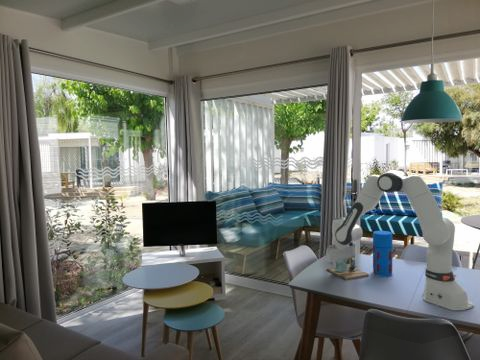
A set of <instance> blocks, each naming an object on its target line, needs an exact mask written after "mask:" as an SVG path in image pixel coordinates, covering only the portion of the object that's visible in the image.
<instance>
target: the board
mask: <svg viewBox="0 0 480 360" xmlns="http://www.w3.org/2000/svg"><path fill="white" fill-rule="evenodd" d="M349 267H350V264H347V271H343V272H339V271H336V270H333V266H331V267H326V271H327V272H330V273H331V274H334V275H335V276H338V277H339V278H341V279H343V280H345V281H347V280H355V279H359V278H365V277H369V276H370V274H369V273H367V272H365V271H363V270H360V269H358V268H356V269H357V271H349V270H348V269H349Z"/></svg>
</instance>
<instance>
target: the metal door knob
mask: <svg viewBox="0 0 480 360" xmlns="http://www.w3.org/2000/svg"><path fill="white" fill-rule="evenodd" d="M349 265H350V267H349V269H348V270H349V271H357V269H358V268H357V266H356V259H354V258H350V263H349Z"/></svg>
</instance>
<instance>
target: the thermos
mask: <svg viewBox="0 0 480 360" xmlns="http://www.w3.org/2000/svg"><path fill="white" fill-rule="evenodd" d="M372 272H373V274H374V275H375V276H377V277H386V278H388V277H391V276H393V232H391V231H387V230H375V231H373V233H372Z"/></svg>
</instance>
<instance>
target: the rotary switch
mask: <svg viewBox="0 0 480 360" xmlns="http://www.w3.org/2000/svg"><path fill="white" fill-rule="evenodd" d="M336 265H338V266H337V268H334V265H333V266H332V267H333V270H336V271H339V272H343V271H347V265H348V263H345V262H344V260H338V261H336Z"/></svg>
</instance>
